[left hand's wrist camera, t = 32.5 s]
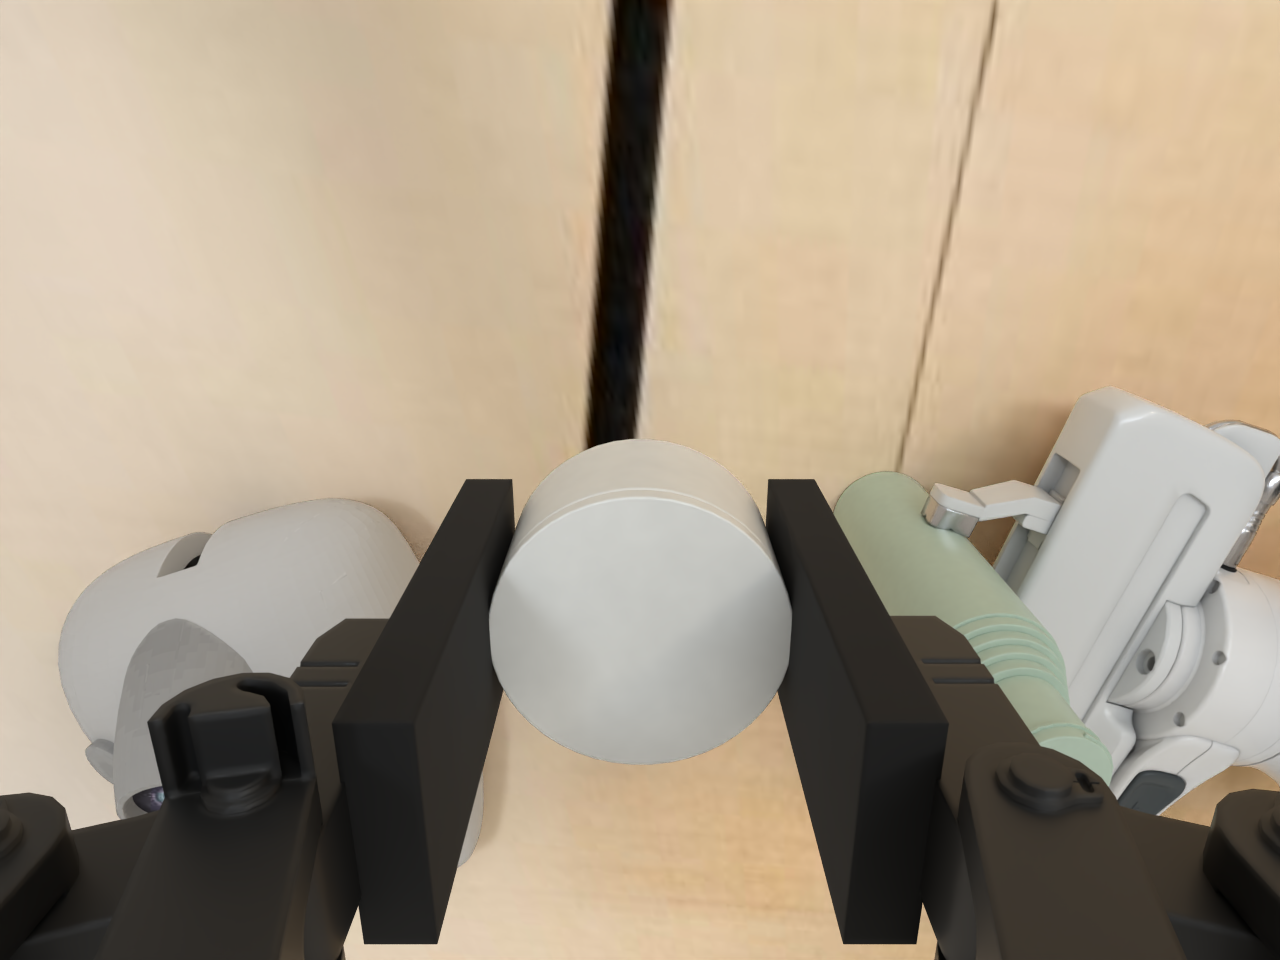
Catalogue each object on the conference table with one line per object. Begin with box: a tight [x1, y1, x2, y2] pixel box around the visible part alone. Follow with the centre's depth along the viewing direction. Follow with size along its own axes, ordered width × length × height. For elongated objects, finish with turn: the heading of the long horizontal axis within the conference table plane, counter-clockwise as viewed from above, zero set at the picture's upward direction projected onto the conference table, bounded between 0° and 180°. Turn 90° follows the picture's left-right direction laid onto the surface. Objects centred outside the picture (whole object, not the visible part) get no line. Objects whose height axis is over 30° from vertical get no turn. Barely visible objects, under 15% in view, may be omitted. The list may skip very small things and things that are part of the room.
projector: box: [58, 498, 484, 868], centre depth 39 cm, size 22×23×15 cm
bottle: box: [833, 472, 1114, 787], centre depth 34 cm, size 5×5×20 cm
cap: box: [489, 439, 792, 765], centre depth 13 cm, size 4×4×3 cm
